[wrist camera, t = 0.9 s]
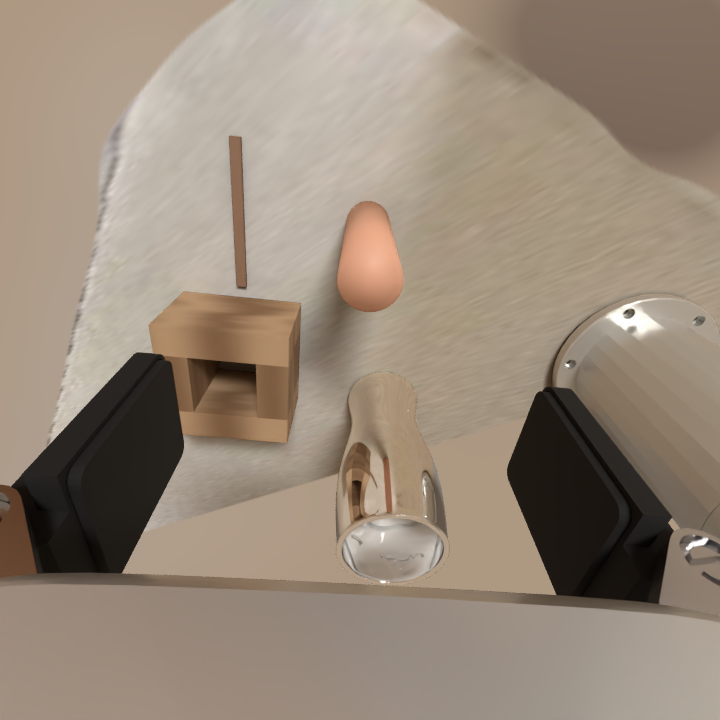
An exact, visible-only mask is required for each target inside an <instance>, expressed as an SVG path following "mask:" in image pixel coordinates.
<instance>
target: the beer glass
mask: <svg viewBox="0 0 720 720" xmlns="http://www.w3.org/2000/svg"><path fill="white" fill-rule="evenodd" d="M348 405H349V410H350V414H351V419H352V428H351V432H350V436H349V439H348V442H347V445H346V448H345V452H344V455H343V458H342V462H341V467H340V471H339V476H338V484H337V493H336V536H337V546H336V555H337V559H338V560H339V563H340V564H341V566H342V567H343V568H344V569H345V570H346V571H347V572H348V573H349V574H351V575H352V576H354V577H356V578H358V579H360V580H362V581H365V582H368V583H372V584H377V585H385V586H397V585H405V584H411V583H415V582H418V581H421V580H423V579H426V578H428V577H430V576H431V575H433V574H434V573H436V572H437V571H438V570H439V569H440V568H441V567H442V566H443V565H444V564H445V562H446V560H447V558H448V556H449V550H450V546H449V541H448V536H447V526H446V516H445V508H444V501H443V496H442V490H441V485H440V481H439V477H438V473H437V470H436V467H435V464H434V462H433V459H432V456H431V454H430V452H429V449H428V447H427V445H426V443H425V441H424V439H423V436H422V434H421V432H420V430H419V428H418V425H417V422H416V420H417V419H416V409H417V395H416V392H415V389H414V388H413V386H412V384H411V383H410V382H409V381H408V380H407V379H405V378H404V377H402V376H400V375H398V374H395V373H391V372H375V373H371V374H368V375H366V376H364V377H362V378H361V379H359V380H358V381H357V382H356V383H355V384H354V386H353V387H352V389H351V391H350V393H349V397H348Z"/></svg>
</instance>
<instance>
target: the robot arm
mask: <svg viewBox="0 0 720 720" xmlns="http://www.w3.org/2000/svg"><path fill="white" fill-rule="evenodd" d="M183 450H184V439H183V433H182V426H181V420H180V413H179V407H178V400H177V393H176V387H175V380H174V374H173V367H172V363H171V362H170V361H166V360H165V358H164V356H163V355H161V354H152V353H140V352H138V353H135V354H134V355H133V356H132V357H131V358H130V359H129V360H128V361H127V362H126V363H125V364H124V366H123V367H122V368H121V369H120V370H119V371H118V372H117V373H116V374H115V375H114V376H113V377H112V378H111V379H110V380H109V382H108V383H107V384H106V385H105V386H104V387H103V388H102V389H101V390H100V391H99V392H98V393H97V394H96V395H95V397H94V398H93V399H92V400H91V401H90V402H89V403H88V404H87V405H86V406H85V407H84V408H83V409H82V410H81V412H80V413H79V414H78V415H77V416H76V417H75V418H74V419H73V420H72V421H71V422H70V423H69V424H68V425H67V427H66V428H65V429H64V430H63V431H62V432H61V433H60V434H59V435H58V436H57V437H56V438H55V439H54V440H53V442H52V443H51V444H50V445H49V446H48V447H47V448H46V449H45V450H44V451H43V452H42V453H41V454H40V455H39V457H38V458H37V459H36V460H35V461H34V462H33V463H32V464H31V465H30V466H29V467H28V468H27V469H26V470H25V471H24V473H23V474H22V475H21V477H20V478H19V479H18V480H17V481H16V482H15V483H14V484H13V485H12V486H11V487H10V486H6V485H0V720H720V334H719V331H718V328H717V325H716V323H715V321H714V320H713V318H712V317H711V315H710V314H709V313H707V312H706V311H705V310H704V309H703V308H701V307H700V306H698V305H696V304H695V303H693V302H691V301H689V300H687V299H684V298H681V297H678V296H675V295H668V294H646V295H639V296H635V297H631V298H627V299H624V300H621V301H619V302H616V303H614V304H611V305H609V306H607V307H606V308H604V309H602V310H600V311H599V312H597V313H595V314H594V315H592V316H591V317H590V318H589V319H587V320H586V321H585V322H583V323H582V324H581V325H580V326H579V327H578V328H577V329H576V330H575V331H574V332H573V333H572V334H571V335H570V336H569V338H568V339H567V341H566V342H565V344H564V345H563V347H562V348H561V350H560V352H559V354H558V357H557V359H556V361H555V365H554V370H553V387H546V388H545V389H544V390H543V391H540V392H538V393H537V394H536V396H535V398H534V401H533V403H532V406H531V408H530V411H529V413H528V416H527V419H526V421H525V424H524V426H523V429H522V431H521V434H520V436H519V439H518V442H517V444H516V446H515V449H514V451H513V454H512V457H511V459H510V462H509V464H508V468H507V476H508V480H509V482H510V485H511V487H512V489H513V492H514V494H515V497H516V499H517V501H518V504H519V506H520V509H521V511H522V513H523V516H524V518H525V521H526V523H527V525H528V528H529V530H530V533H531V535H532V537H533V539H534V542H535V544H536V547H537V549H538V552H539V554H540V556H541V559H542V561H543V563H544V566H545V568H546V571H547V573H548V575H549V578H550V580H551V583H552V585H553V587H554V590H555V592H556V595H543V594H525V593H508V592H492V591H474V590H455V589H440V588H421V587H401V586H383V585H363V584H345V583H326V582H305V581H286V580H264V579H243V578H222V577H201V576H178V575H150V574H149V575H148V574H121V573H122V572H123V570H124V568H125V566H126V564H127V562H128V560H129V558H130V556H131V554H132V552H133V550H134V548H135V546H136V544H137V543H138V541H139V539H140V537H141V535H142V533H143V531H144V529H145V527H146V525H147V523H148V521H149V519H150V517H151V515H152V513H153V511H154V509H155V507H156V506H157V504H158V502H159V500H160V498H161V496H162V494H163V492H164V490H165V488H166V486H167V484H168V482H169V480H170V478H171V476H172V474H173V472H174V470H175V469H176V467H177V465H178V463H179V461H180V459H181V457H182V454H183ZM671 518H673V520H674V521H675V522H676V524H677V525H678V526H679V527H680V529H678V530H676V531H674V530H673V529H672V528H671V526H670V525H669V524H668V522H669V521H670V519H671Z"/></svg>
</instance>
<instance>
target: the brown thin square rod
mask: <svg viewBox="0 0 720 720" xmlns="http://www.w3.org/2000/svg"><path fill="white" fill-rule="evenodd" d="M229 146H230V166H231V186H232V205H233V225H234V245H235V264H236V284H237V286H241V287H246V286H247V274H246V248H245V221H244V194H243V168H242V141H241V137H237V136H229Z"/></svg>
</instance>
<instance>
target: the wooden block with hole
mask: <svg viewBox="0 0 720 720" xmlns="http://www.w3.org/2000/svg"><path fill="white" fill-rule="evenodd" d="M300 320H301V303H295V302H284V301H274V300H264V299H254V298H244V297H234V296H224V295H214V294H203V293H193V292H183V293H182V294H181V295H180V296H179V297H178V298H177V299H175V300H174V301H173V302H172V303H171V304H170V305H169V306H168V307H167V308H166V309H165V310H164V311H163V312H162V313H161V314H160V315H159V316H158V317H157V318H156V319H154V320H153V321H152V322H151V323H150V324H149V331H150V337H151V343H152V348H153V354H161V355H163V356H164V358H165V360H166V361H170V362H171V363H172V367H173V374H174V380H175V387H176V393H177V400H178V407H179V413H180V420H181V426H182V433H183V434H185V435H197V436H209V437H221V438H233V439H245V440H257V441H269V442H281V443H287V441H288V437H289V433H290V429H291V424H292V420H293V416H294V412H295V408H296V403H297V399H298V381H299V351H300ZM218 361H226V362H237V363H248V364H256V372H245V371H234V370H223V369H219V364H218Z"/></svg>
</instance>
